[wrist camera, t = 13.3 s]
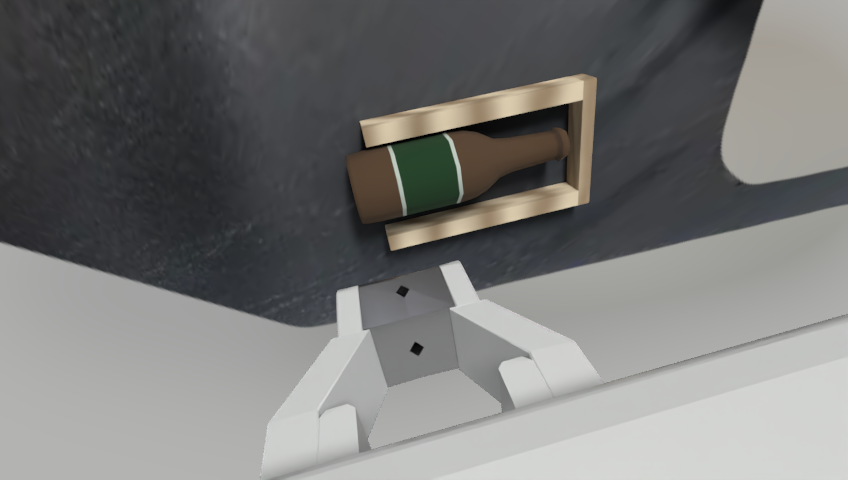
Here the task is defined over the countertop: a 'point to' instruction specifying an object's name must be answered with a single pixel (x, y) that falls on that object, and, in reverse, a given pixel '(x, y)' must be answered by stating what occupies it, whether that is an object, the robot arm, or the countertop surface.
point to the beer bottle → (442, 169)
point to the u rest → (487, 108)
